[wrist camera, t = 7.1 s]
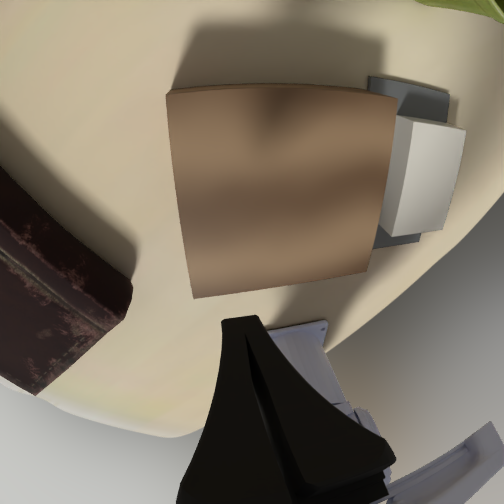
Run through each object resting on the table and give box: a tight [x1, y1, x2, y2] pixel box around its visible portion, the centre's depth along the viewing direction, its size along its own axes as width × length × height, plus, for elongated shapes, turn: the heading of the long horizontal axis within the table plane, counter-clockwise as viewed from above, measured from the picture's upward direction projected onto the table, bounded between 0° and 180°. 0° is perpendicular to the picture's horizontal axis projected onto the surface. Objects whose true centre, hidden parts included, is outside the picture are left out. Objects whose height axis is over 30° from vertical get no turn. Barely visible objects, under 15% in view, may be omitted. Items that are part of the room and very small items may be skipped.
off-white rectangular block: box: [379, 115, 466, 237], centre depth 20 cm, size 9×6×2 cm, turn 1°
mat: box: [368, 76, 450, 249], centre depth 21 cm, size 14×8×1 cm, turn 1°
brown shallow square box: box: [166, 83, 398, 299], centre depth 17 cm, size 12×12×4 cm
